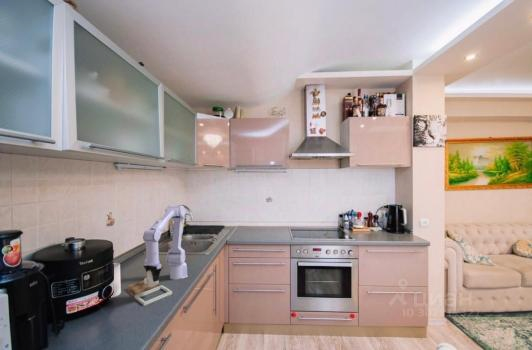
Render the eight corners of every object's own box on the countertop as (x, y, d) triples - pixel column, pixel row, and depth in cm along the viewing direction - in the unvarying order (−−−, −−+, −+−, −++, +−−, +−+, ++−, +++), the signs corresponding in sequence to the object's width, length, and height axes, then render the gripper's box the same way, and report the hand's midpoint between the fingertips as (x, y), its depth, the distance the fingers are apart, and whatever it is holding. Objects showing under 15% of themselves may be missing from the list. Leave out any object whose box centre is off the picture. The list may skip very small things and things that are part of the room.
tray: (162, 289, 130) (162, 285, 130) (172, 295, 123) (172, 291, 123) (135, 300, 120) (134, 295, 120) (144, 307, 113) (144, 302, 113)
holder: (150, 281, 140) (149, 277, 140) (161, 288, 131) (161, 283, 131) (124, 291, 130) (123, 286, 129) (134, 299, 120) (134, 294, 120)
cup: (124, 291, 129) (123, 262, 129) (115, 299, 121) (114, 268, 121) (108, 292, 129) (107, 263, 129) (98, 300, 120) (97, 269, 120)
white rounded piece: (155, 281, 125) (155, 267, 125) (160, 283, 122) (160, 270, 122) (142, 285, 120) (142, 272, 120) (147, 288, 117) (146, 274, 117)
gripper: (138, 252, 123) (139, 278, 123) (150, 258, 114) (151, 286, 114) (152, 248, 128) (152, 273, 129) (165, 254, 119) (165, 281, 119)
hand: (153, 279), depth 121 cm, fingers closed on white rounded piece, 5 cm apart
